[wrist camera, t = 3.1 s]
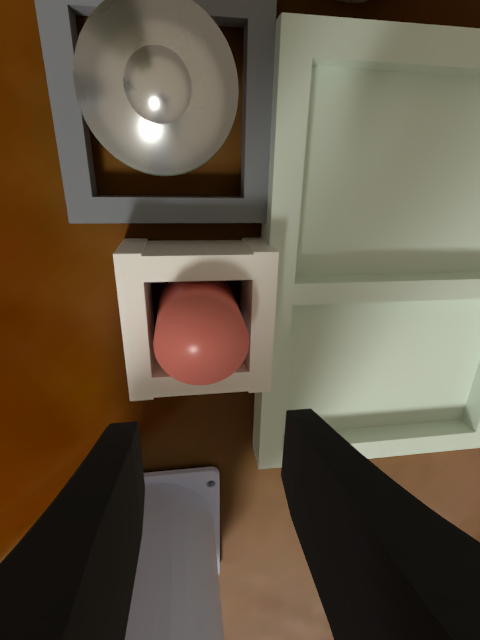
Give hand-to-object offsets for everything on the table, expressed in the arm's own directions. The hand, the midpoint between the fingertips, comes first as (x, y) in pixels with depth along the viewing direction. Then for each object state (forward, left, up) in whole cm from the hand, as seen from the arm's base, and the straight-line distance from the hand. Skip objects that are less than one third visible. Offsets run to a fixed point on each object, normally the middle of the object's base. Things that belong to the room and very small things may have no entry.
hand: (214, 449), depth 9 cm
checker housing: (0, 0, -10) cm, 10 cm away
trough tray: (+1, -10, -10) cm, 14 cm away
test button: (0, 0, -10) cm, 10 cm away
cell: (+8, +1, -10) cm, 13 cm away
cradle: (+8, +1, -10) cm, 13 cm away
